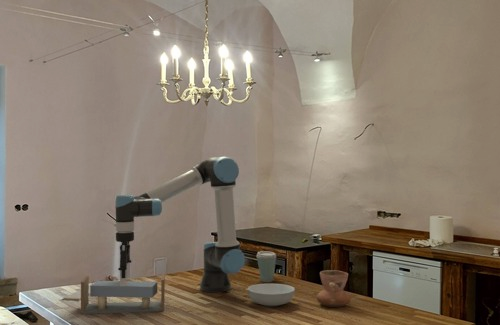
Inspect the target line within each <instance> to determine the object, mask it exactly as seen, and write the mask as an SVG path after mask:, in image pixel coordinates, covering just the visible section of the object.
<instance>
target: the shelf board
mask: <svg viewBox="0 0 500 325" xmlns="http://www.w3.org/2000/svg"><path fill="white" fill-rule="evenodd" d="M90 285H91V286H90ZM90 285H89V286H90V295H89V297H95V298H96V297H97V298H98V297H107V298H141V299H142V298H150V299H152V298H153V297H155V296H156V295H157V294H158V281H138V280H137V281H136V280H135V281H132V280H127V286H120V280H102V281H101V280H96V281H94V283H92V284H90Z"/></svg>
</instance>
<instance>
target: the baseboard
mask: <svg viewBox="0 0 500 325" xmlns="http://www.w3.org/2000/svg"><path fill="white" fill-rule="evenodd" d="M100 281H103V279H102V280H100ZM92 284H93V282H91V284H89V296H90V286H91V285H92ZM61 300H62V301H76V302H77V301H80V302H81V289H79V290H78V291H76V292H74V293H71V294H69V295H67V296H65V297H62V298H61Z"/></svg>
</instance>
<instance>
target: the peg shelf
mask: <svg viewBox="0 0 500 325" xmlns="http://www.w3.org/2000/svg"><path fill="white" fill-rule="evenodd" d="M89 280H90V275H85V277H83V279H82V280H81V282H80V290H81V300H80V312H81V315H92V314H98V313H99V314H119V313H120V314H122V313H124V314H125V313H149V312H150V313H152V312H154V313H155V312H164V309H165V304H166V303H165V302H166V299H165V298H166V296H165V295H166V293H165V292H166V290H165V289H166V286H165V285H166V283H165V282H166V281H165V280H166V273H162V274H161V283H160V285H161V286H160V288H161V293H160V295H161V296H160V297H161V299H160V300H161V301H151V298H142V297H141V301H138V302H137V301H131V302H130V301H129V302H128V301H127V302H125V301H124V302H108V300H107V299H108V297H97V303H96V302H95V303H89V301H90V300H89V298H90V295H89V286H90V281H89Z"/></svg>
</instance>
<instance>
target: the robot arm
mask: <svg viewBox="0 0 500 325" xmlns="http://www.w3.org/2000/svg"><path fill="white" fill-rule="evenodd" d="M239 174H240V168H239V164H238V163H237V162H236V161H235V160H234V158H231V157H227V156H217V157H215V156H214V157H209V158H206V159H205V160H203V161H201V162H200V163H198V164H196V165H194V166H192V167H191V168H190V170H188V171H186V172H185V173H183V174H181V175H179V176H176V177H174V178H173V179H169V180H168V181H167V182H164V183H162V184H161V185H158V186H157V187H154V188H152V189H151V190H148V191H147V192H144V193H143V194H140V195H138V196H134V195H133V194H119V195H117V196H116V197H115V204H114V207H115V223H114V224H113V226H114V227H115V231H116V233H115V241H116V242H117V243H121V244H120V245H119V255H120V256H119V257H120V258H119V267H118V269H117V270H118V271H119V274H120V275H119V278H120V279H119V281H120V286H127V281H128V279H130V278H131V263H132V260H131V253H130V252H131V245H130V242H133V241H135V232H134V231H135V218H138V217H139V218H140V217H155V216H160V215H161V213H162V211H163V204H162V203H164V202H166V201H168V200H170V199H172V198H174V197H176V196H178V195H180V194H181V193H183V192H186V191H187V190H190V189H191V188H193V187H195V186H197V185H199V186H202V185H204V184H206V183H210V187H211V188H212V189H213V191H214V202H215V216H216V217H215V218H216V231H217V241H211V242H205V243H204V246H203V274H202V278H201V280H200V283H199V284H200V285H199V289H200V290H201V291H202V292H207V293H222V292H228V291H231V289H232V285H231V284H232V283H231V281H230V276H229V274H230V275H234V274H237V273H238V272H240V271H241V270H242V269H243V268H244V265H245V263H246V257H245V254H244V253H243V251H242V250H241V243H240V241H238V240H237V233H236V232H237V231H236V219H235V204H234V202H235V200H234V188H235V187H236V186H237V182H236V180H237V178H238V177H239Z"/></svg>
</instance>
